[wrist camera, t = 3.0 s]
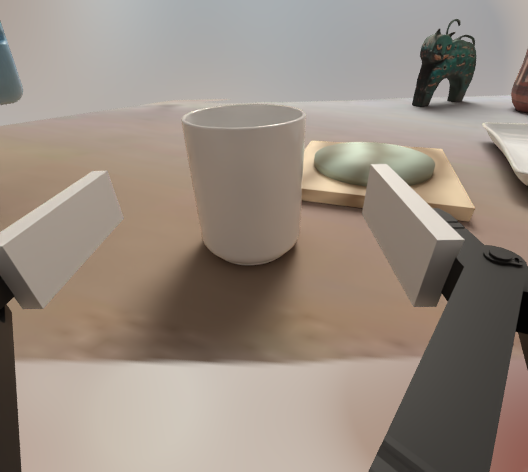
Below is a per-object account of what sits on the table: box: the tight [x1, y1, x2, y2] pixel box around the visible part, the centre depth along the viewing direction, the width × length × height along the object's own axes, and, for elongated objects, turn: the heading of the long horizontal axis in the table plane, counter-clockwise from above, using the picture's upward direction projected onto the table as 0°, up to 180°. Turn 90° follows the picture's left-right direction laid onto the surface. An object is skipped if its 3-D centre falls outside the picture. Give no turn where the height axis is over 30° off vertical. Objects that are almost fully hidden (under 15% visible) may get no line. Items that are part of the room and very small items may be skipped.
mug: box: [181, 104, 306, 265], centre depth 25 cm, size 12×9×11 cm
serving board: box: [302, 141, 475, 222], centre depth 38 cm, size 20×20×2 cm
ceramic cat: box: [412, 19, 476, 107], centre depth 79 cm, size 20×6×20 cm, turn 114°
